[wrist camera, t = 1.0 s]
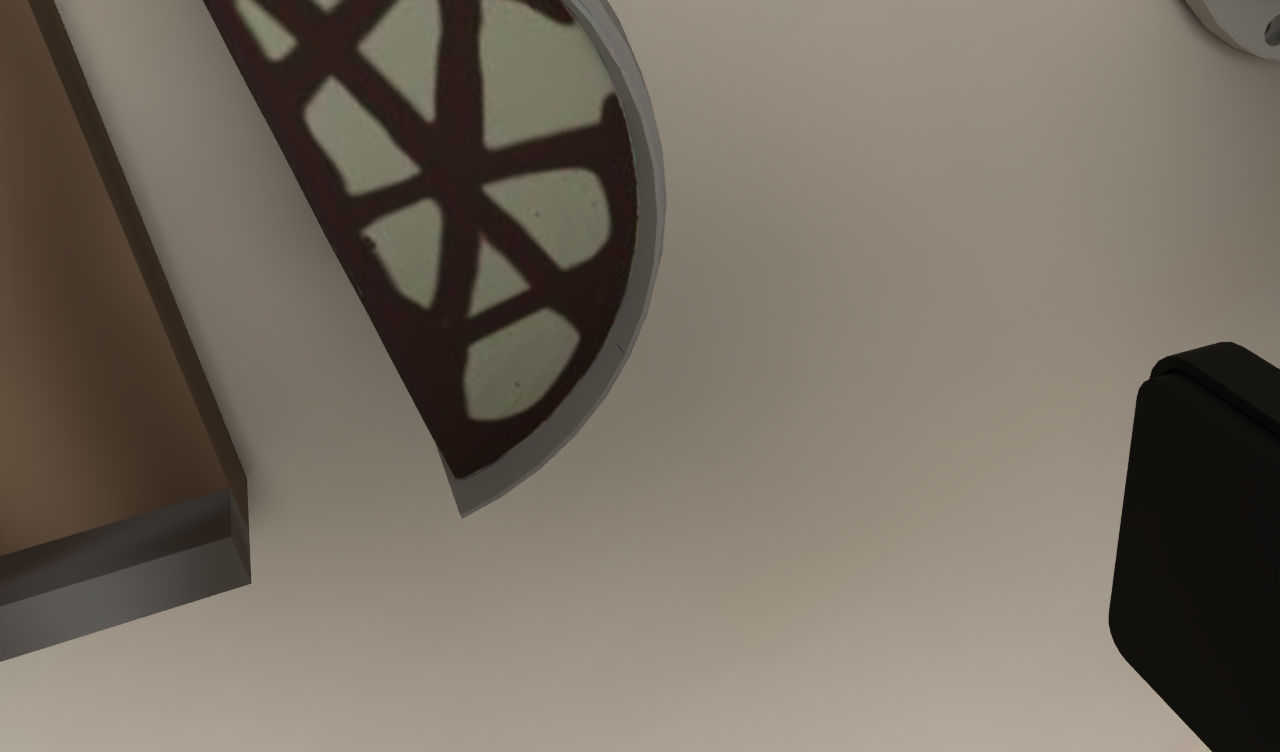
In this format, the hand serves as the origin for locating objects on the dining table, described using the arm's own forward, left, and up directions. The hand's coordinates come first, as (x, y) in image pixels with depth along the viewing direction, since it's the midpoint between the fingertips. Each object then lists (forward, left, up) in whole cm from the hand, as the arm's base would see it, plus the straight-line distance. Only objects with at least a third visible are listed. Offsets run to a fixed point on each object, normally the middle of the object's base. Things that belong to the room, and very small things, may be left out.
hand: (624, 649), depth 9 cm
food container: (-1, 0, -21) cm, 21 cm away
